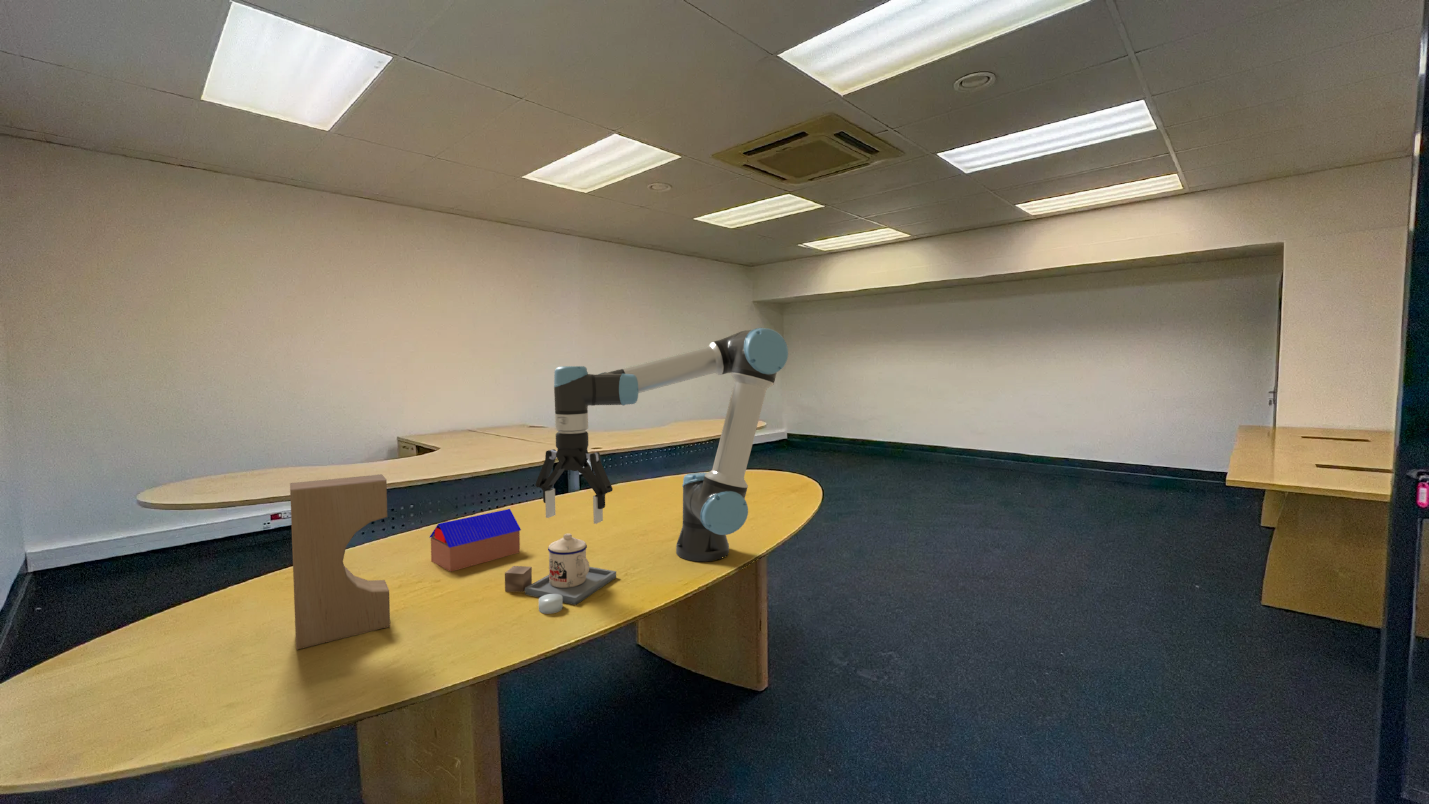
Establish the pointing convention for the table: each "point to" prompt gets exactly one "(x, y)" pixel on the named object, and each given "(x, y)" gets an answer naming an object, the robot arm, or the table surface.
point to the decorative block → (334, 559)
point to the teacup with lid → (567, 562)
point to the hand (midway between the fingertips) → (574, 519)
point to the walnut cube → (518, 578)
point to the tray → (573, 594)
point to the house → (475, 540)
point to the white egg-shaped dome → (550, 603)
